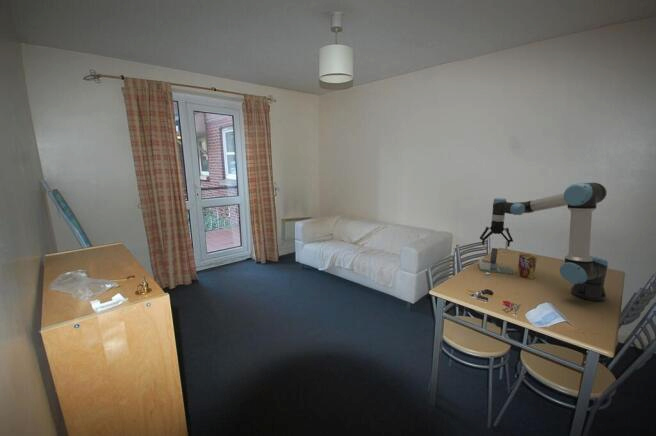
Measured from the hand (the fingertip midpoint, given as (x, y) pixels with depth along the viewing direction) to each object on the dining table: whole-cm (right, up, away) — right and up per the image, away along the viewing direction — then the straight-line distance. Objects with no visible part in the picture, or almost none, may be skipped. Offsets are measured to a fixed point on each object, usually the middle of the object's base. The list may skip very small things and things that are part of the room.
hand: (494, 250), depth 205 cm
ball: (-4, -11, +4) cm, 12 cm away
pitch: (+1, -14, +3) cm, 14 cm away
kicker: (0, -13, +3) cm, 13 cm away
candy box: (+14, -17, -10) cm, 24 cm away
